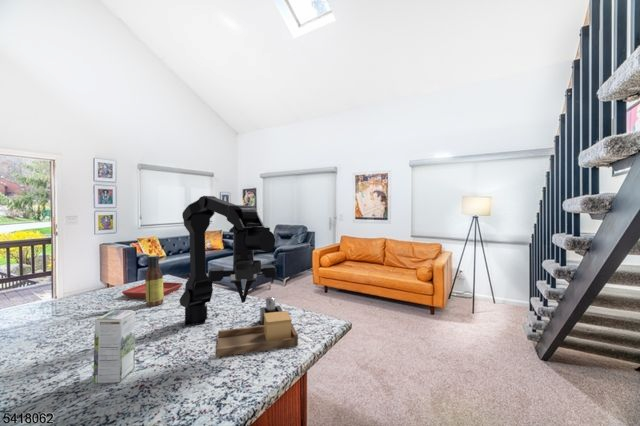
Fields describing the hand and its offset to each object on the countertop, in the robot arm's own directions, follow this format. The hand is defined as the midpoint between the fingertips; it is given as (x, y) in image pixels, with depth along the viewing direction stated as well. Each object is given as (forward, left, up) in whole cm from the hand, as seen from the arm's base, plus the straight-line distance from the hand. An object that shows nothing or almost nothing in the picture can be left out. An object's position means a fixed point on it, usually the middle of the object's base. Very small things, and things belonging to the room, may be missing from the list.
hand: (243, 302), depth 81 cm
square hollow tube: (+10, +12, -12) cm, 20 cm away
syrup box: (-29, -8, -12) cm, 32 cm away
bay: (+4, 0, -12) cm, 13 cm away
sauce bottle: (-33, +45, -12) cm, 57 cm away
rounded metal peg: (+10, +12, -10) cm, 19 cm away
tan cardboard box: (+10, 0, -12) cm, 16 cm away
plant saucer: (-37, +62, -13) cm, 73 cm away
